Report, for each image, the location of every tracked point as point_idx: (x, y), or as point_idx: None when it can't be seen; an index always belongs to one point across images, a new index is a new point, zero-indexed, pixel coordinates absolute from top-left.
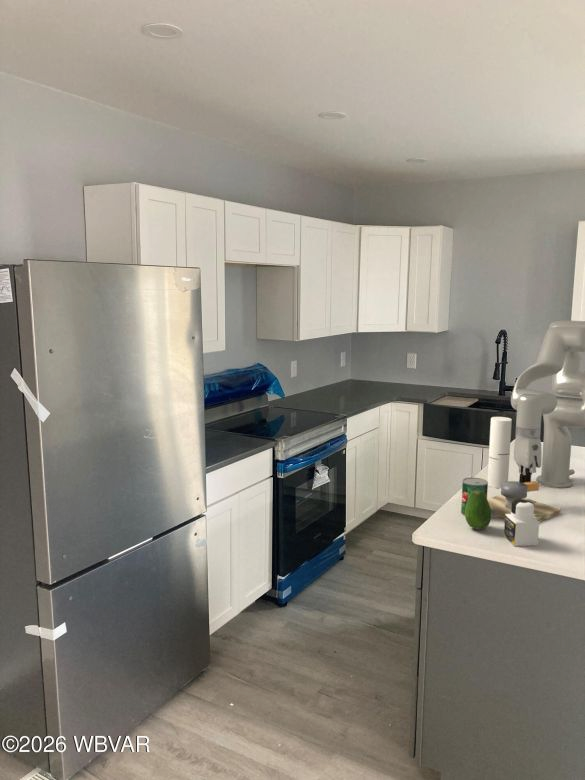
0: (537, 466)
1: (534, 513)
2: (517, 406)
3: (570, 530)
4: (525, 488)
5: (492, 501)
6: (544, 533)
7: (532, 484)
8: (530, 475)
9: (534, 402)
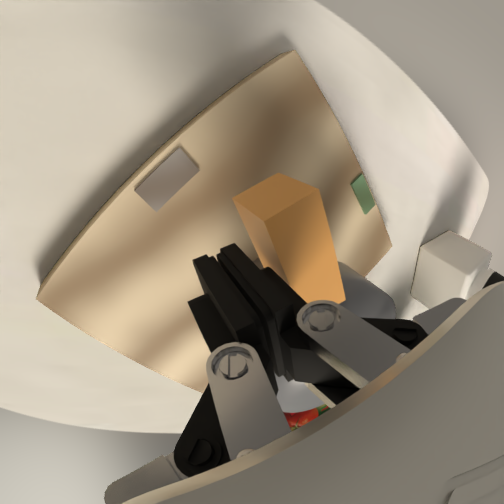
0: (466, 313)
1: (341, 202)
2: None
3: (413, 107)
4: (392, 300)
5: (203, 361)
6: (419, 196)
7: (332, 252)
8: (286, 302)
9: None
